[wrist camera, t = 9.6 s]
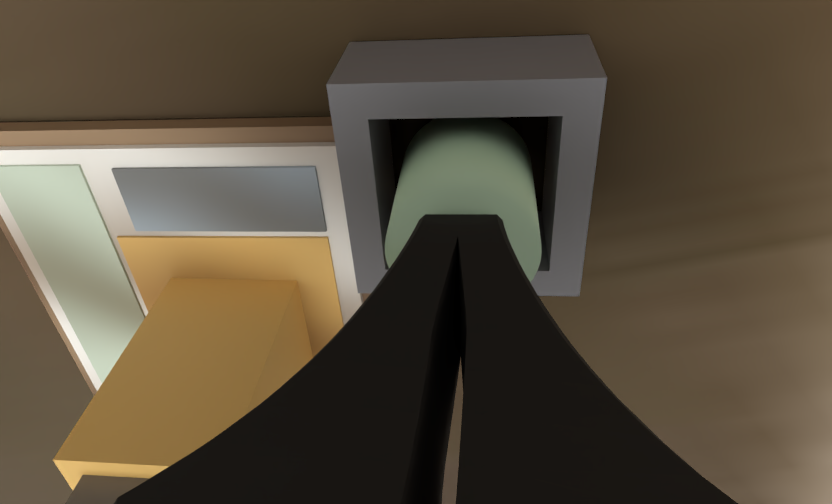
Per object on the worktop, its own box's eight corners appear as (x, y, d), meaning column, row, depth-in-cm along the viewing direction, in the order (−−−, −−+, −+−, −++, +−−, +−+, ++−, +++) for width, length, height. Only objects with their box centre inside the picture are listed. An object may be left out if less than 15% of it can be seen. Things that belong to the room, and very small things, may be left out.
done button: (528, 224, 14) (536, 312, 12) (407, 224, 14) (391, 310, 12) (535, 109, 12) (546, 185, 10) (397, 112, 13) (377, 186, 10)
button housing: (568, 234, 16) (579, 296, 14) (373, 233, 16) (357, 293, 14) (589, 34, 13) (607, 77, 11) (349, 41, 13) (326, 84, 11)
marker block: (316, 371, 18) (249, 599, 13) (203, 367, 19) (95, 587, 14) (297, 280, 16) (209, 507, 11) (171, 277, 17) (28, 496, 12)
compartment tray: (393, 394, 20) (390, 413, 19) (101, 384, 21) (90, 403, 20) (358, 116, 14) (352, 130, 14) (-39, 123, 15) (-61, 137, 15)
